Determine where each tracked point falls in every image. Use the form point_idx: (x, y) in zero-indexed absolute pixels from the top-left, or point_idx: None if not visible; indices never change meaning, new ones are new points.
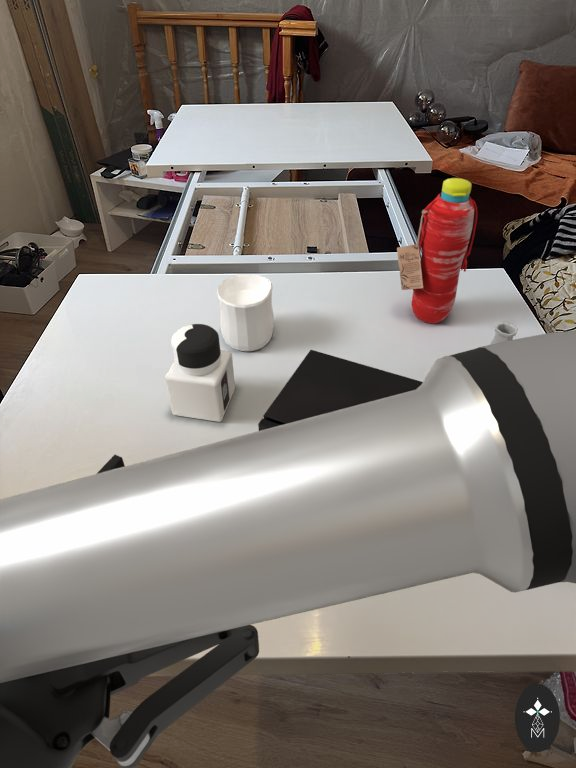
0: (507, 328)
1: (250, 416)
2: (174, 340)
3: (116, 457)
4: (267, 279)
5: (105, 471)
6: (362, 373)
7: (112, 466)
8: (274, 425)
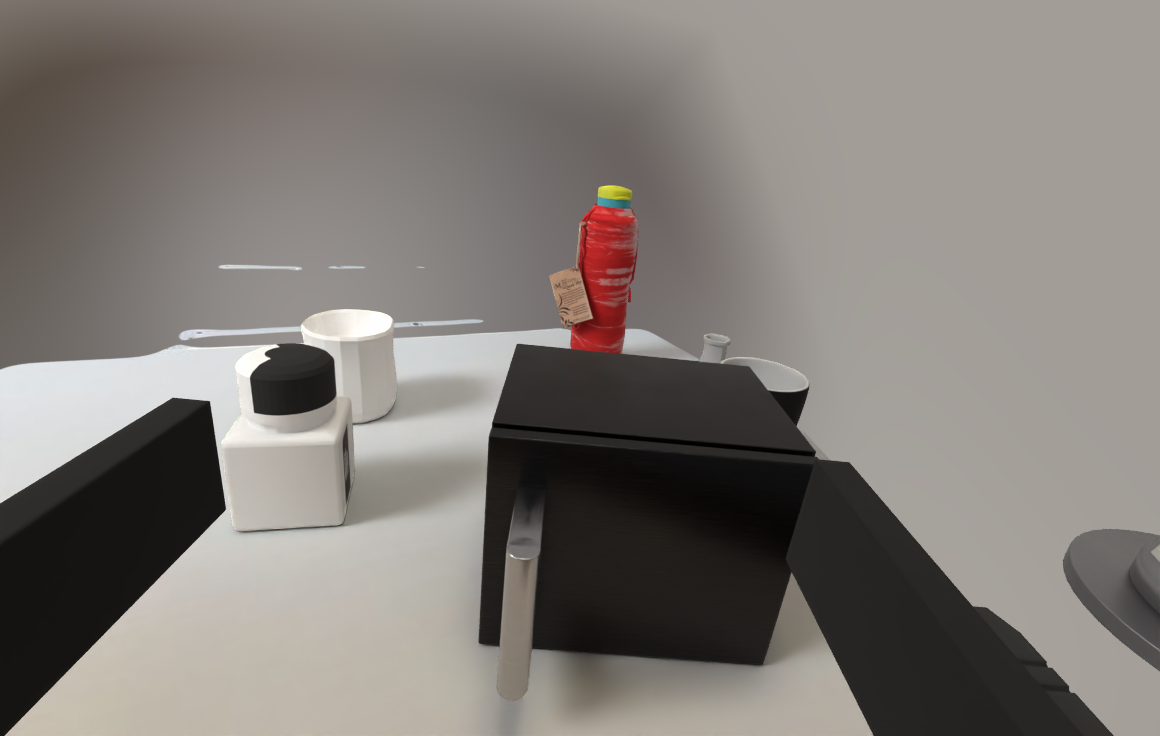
0: (714, 340)
1: (397, 506)
2: (243, 365)
3: (183, 403)
4: (382, 313)
5: (135, 441)
6: (616, 360)
7: (170, 424)
8: (522, 433)
